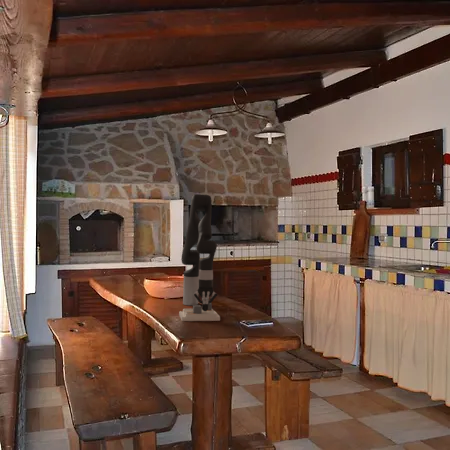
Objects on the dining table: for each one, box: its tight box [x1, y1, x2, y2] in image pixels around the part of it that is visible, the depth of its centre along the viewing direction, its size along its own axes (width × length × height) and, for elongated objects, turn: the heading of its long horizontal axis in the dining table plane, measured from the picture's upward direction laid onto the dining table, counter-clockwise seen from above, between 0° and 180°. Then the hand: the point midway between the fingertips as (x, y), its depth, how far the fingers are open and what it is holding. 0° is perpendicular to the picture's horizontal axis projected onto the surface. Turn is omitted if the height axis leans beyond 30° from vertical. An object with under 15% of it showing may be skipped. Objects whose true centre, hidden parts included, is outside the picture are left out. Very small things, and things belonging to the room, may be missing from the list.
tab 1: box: [192, 304, 202, 314], centre depth 289 cm, size 4×4×5 cm
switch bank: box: [178, 308, 221, 322], centre depth 293 cm, size 16×20×4 cm
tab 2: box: [208, 302, 213, 310], centre depth 299 cm, size 4×4×5 cm
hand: (205, 310), depth 289 cm, fingers closed
